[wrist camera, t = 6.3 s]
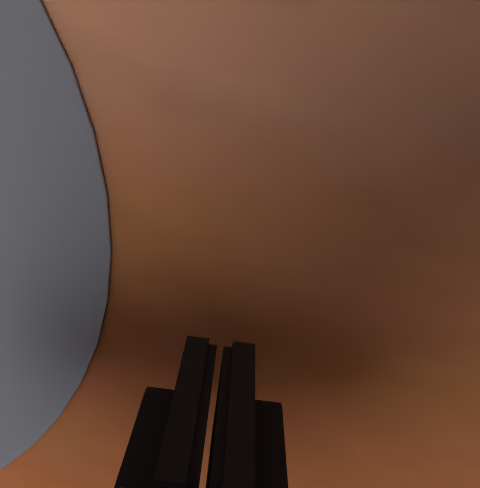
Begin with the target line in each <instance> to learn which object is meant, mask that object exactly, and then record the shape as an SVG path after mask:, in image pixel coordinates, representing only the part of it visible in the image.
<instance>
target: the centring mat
mask: <svg viewBox="0 0 480 488" xmlns="http://www.w3.org/2000/svg"><path fill="white" fill-rule="evenodd" d="M110 263H111V237H110V223H109V210H108V196H107V190H106V185H105V181H104V176H103V171H102V166H101V161H100V157H99V152H98V147H97V142H96V137H95V133H94V130H93V127H92V124H91V121H90V118H89V115H88V112H87V109H86V106H85V103H84V100H83V97H82V94H81V91H80V88H79V85H78V83H77V80H76V77H75V74H74V71H73V68H72V65H71V63H70V61H69V59H68V57H67V54H66V52H65V50H64V48H63V46H62V44H61V42H60V39H59V37H58V35H57V33H56V31H55V29H54V27H53V25H52V22H51V20H50V18H49V16H48V14H47V12H46V10H45V8H44V5H43V3H42V1H41V0H0V469H2V468H3V467H5V466H7V465H8V464H9V463H11V462H12V461H13V460H15V459H16V458H17V457H18V456H20V455H21V454H22V453H23V452H25V451H26V450H27V449H28V448H30V447H31V446H32V445H33V444H35V443H36V442H37V441H38V440H39V438H40V437H41V436H42V435H43V434H44V433H45V432H46V431H47V430H48V428H49V427H50V426H51V425H52V424H53V423H54V422H55V421H56V420H57V419H58V417H59V416H60V415H61V413H62V412H63V410H64V409H65V407H66V405H67V404H68V402H69V401H70V399H71V398H72V396H73V394H74V393H75V391H76V390H77V388H78V387H79V385H80V383H81V381H82V379H83V377H84V375H85V372H86V370H87V367H88V365H89V363H90V360H91V358H92V355H93V353H94V350H95V348H96V346H97V343H98V340H99V335H100V331H101V327H102V322H103V318H104V314H105V309H106V305H107V301H108V291H109V277H110Z"/></svg>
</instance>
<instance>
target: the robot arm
mask: <svg viewBox="0 0 480 488" xmlns="http://www.w3.org/2000/svg"><path fill="white" fill-rule="evenodd" d="M216 349H217V345H210V344H209V338H202V337H194V336H187V339H186V343H185V348H184V352H183V356H182V360H181V365H180V369H179V373H178V377H177V382H176V386H175V390H171V389H162V388H154V387H147V388H146V390H145V393H144V396H143V399H142V402H141V405H140V409H139V412H138V415H137V418H136V421H135V424H134V427H133V430H132V434H131V437H130V440H129V443H128V446H127V449H126V452H125V455H124V459H123V462H122V465H121V468H120V471H119V474H118V477H117V480H116V484H115V487H114V488H199V482H200V474H201V466H202V458H203V451H204V443H205V435H206V427H207V419H208V411H209V404H210V396H211V388H212V380H213V372H214V365H215V357H216ZM206 488H288V479H287V466H286V452H285V439H284V426H283V412H282V405H281V403H278V402H270V401H261V400H255V344H251V343H243V342H235V341H233V345H232V347H226V346H224V349H223V356H222V364H221V371H220V378H219V386H218V393H217V400H216V407H215V415H214V422H213V429H212V437H211V446H210V455H209V464H208V473H207V482H206Z"/></svg>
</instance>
